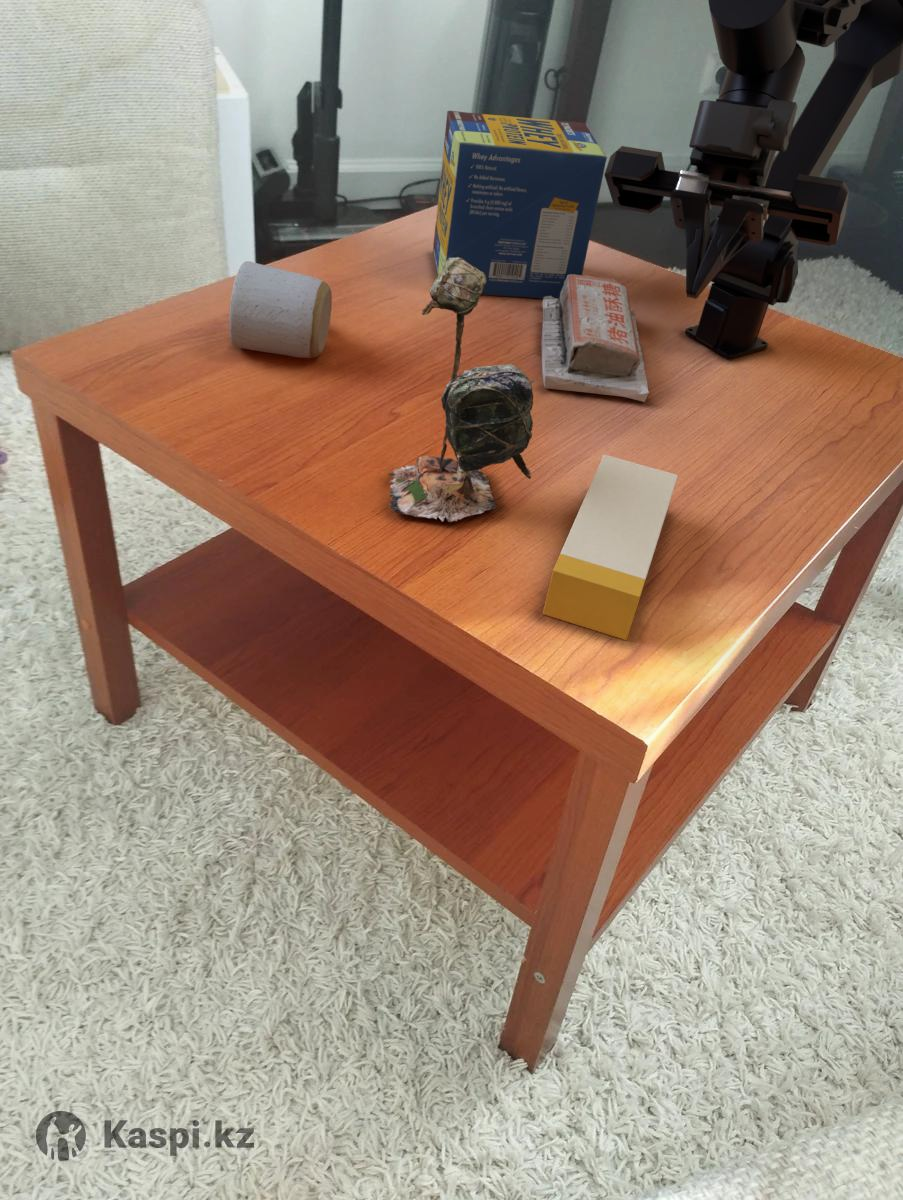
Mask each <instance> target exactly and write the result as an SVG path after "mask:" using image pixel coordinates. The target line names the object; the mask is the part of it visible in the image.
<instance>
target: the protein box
mask: <svg viewBox="0 0 903 1200" xmlns="http://www.w3.org/2000/svg"><path fill="white" fill-rule="evenodd" d="M607 159H608V156H607V155H606V154H605V151H603V149H602V147H601V146H600V144H599V143H598V142H597V140H596V138H595V137H594V135H593V134H592V132H591V131H590V129H589V127H588V126H587V124H586V123H585V122H580V121H567V120H554V119H542V118H534V117H533V118H531V117H521V116H520V117H519V116H511V115H500V114H486V113H477V112H476V113H475V112H467V111H457V110H447V112H446V122H445V131H444V140H443V152H442V161H441V170H440V181H439V189H438V190H439V191H438V197H437V198H438V200H437V208H436V217H435V227H434V236H433V247H432V255H433V259H434V264H435V270H436V274H437V277H438V276H439V275H440V274H441V272H442V270H443V267H444V265H445V262H446V261H447V259H448V258H450V257H453V258H455V257H459V258H462V259H463V260H465V261H466V262H467V263H469V264H470V265H471V266H473V267H476V268H477V269H478V270H480V271H481V272H483V273H484V274H485V276H486V284H485V287H484V290H483V291H482V293H481V294H480V295H483V296H495V297H496V296H497V297H498V296H499V297H511V298H513V297H516V298H526V299H527V298H528V299H542V300H543V297H546V296H552V297H553V298H557V299H558V298H559V297H560V293H561V290H562V287H563V286H564V281H565V280H566V278H567V275H570V274H575V275H583V273H584V268H585V263H586V258H587V254H588V249H589V245H590V239H591V235H592V230H593V225H594V220H595V215H596V211H597V206H598V201H599V197H600V192H601V187H602V183H603V178H604V174H605V169H606V164H607V163H606V162H607Z"/></svg>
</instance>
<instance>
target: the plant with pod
mask: <svg viewBox="0 0 903 1200" xmlns="http://www.w3.org/2000/svg"><path fill="white" fill-rule="evenodd" d="M485 284H486V276H485V274H484V273H483V272H481V271H480V270H478V269H477V268H476V267H473V266H471V265H470V264H469V263H467V262H466V261H465V260H463V259H462V258H459V257H455V258H453V257H450V258H448V259H447V261H446V262H445V265H444V267H443V270H442V272H441V274H440V275H439V276H438V275H437V277H436V278H435V279H434V281H433V283H432V285H431V286H430V289H429V295H430V298H431V300H430V301H429V302H427V303H426V306H425V307H424V308H423V309H422V311H421V314H422V315H423V316H427V315H429V314H430V313H431V311H432V310H433V309H440V310H447V311H451V312H453V313H454V314H456V323H455V324H456V328H455V331H456V333H455V349H454V350H455V351H454V352H455V353H454V361H453V367H452V373H451V375H450V376H451V377H450V381H448V383H447V384H446V385H445V388H444V391H443V393H442V394H443V395H442V396H441V398H440V399H441V404H442V406H441V407H442V409H443V411H444V413H445V419H444V423H445V428H444V437H443V442H442V449H441V453H440V456H435V455H421V456H418V457H417V458H416V462H415V463H414V464H413V465H407V464H405V467H403V466H401V467H400V468H394V469H393V470H392V472H389V473H387V476H389V477H390V478H392V479H391V480H390V481H388V484H389V483H392V484H391V485H390V486H389V487H390V488H391V490H388V491H387V492H388V493H389V494H390V496H389V497H391V498H390V501H388V503H389V504H390V505H388V506H387V507H388V508H389V509H391V510H393V511H394V513H398V514H403V515H407V516H413V517H414V518H427V519H435V520H437V519H438V518H439V520H440V521H441V522H444V521H445V519H446V520H447V522H448V523H454V522H457V521H459V520H462V519H464V518H467V517H471V516H474V515H482V514H484V513H485V511H491V510H492V511H493V510H497V509H498V504H497V503H496V502H495V500H494V496H493V495H492V494H493V492H492V491H491V488H490V487H491V486H490V485H489V482H490V480H489V479H487V478H488V476H486V475H485V474H484V473H483V471H482V470H483V469H484V468H486V467H489V466H492V465H497V464H498V465H499V464H504V463H505V462H507V461H509V460H511V459H512V460H513V462H514V463H515V465H516V466H517V468H518V469H520V471H521V473H523V475H524V476H525V477H526V478H527V479H528V480H530V479H532V471H531V470H530V468H529V467H528V466H527V464H526V461H525V460H524V459H523V456H522V453H524V451H525V450H526V449H527V448H528V446H529V443H530V440H532V438H533V432H532V431H533V427H534V425H533V424H534V421H533V415H532V413H531V411H532V410H533V405H534V393H533V386H532V384H534V383H535V382H536V381H537V379H535V380H531V381H530V379H529V377H528V376H527V375H526V374H525V372H524V371H523V370H522V369H520V368H519V367H517V366H516V365H513V364H511V363H508V364H507V363H505V364H494V365H483V366H474V367H473V368H471V369H466V370H463V372H462V373H461V374H459V375H458V372H459V370H460V369H459V368H460V364H461V356H462V347H461V345H462V342H463V341H462V338H463V334H464V327H465V316H468V315H470V314H471V313H472V312H473V310H474V309H475V308H476V307H477V306H478V304H479V301H480V297H481V295H482V294H481V293H482V291H483V290H484V287H485ZM447 442H448V443H449V445H450V447H451V448H452V450H453V454H454V456H455V458H456V460H454V459H453V458H450V457H445V455H446V451H447V448H448V447H447V446H448V445H447Z"/></svg>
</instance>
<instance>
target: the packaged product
mask: <svg viewBox="0 0 903 1200" xmlns="http://www.w3.org/2000/svg"><path fill="white" fill-rule="evenodd" d="M628 292H629V291H628V289H627V287H626V286H625V285H624V284H622V283H621V282H619V281H617V279H613V278H605V277H598V276H591V275H585V274H584V275H583V274H582V275H575V274H570V275H567V278H566V280H565V281H564V286H563V287H562V290H561V293H560V297H559V298H558V299H557V298H553V297H552V296H546V297H543V299H542V303H541V305H542V329H541V368H542V369H541V370H542V381H543V388H544V389H550V390H559V391H568V392H569V391H570V392H579V393H586V394H587V393H588V394H598V395H605V396H614V397H622V398H626V399H627V398H628V399H631V400H635V401H639V402H644V403H645V402H646V400H647V398H648V395H649V393H650V392H649V388H648V379H647V376H646V371H645V365H644V357H643V353H642V345H641V344H640V336H639V332H638V331H639V330H638V328H637V320H636V315H635V311H634V310H632V309H631V304H630V298H629V294H628Z"/></svg>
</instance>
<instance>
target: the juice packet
mask: <svg viewBox="0 0 903 1200" xmlns="http://www.w3.org/2000/svg"><path fill="white" fill-rule="evenodd" d="M678 478H679V475H678V474H676V473H672V472H668V471H665V470H662V469H658V468H654V467H650V466H647V465H643V464H640V463H637V462H633V461H629V460H626V459H623V458H618V457H615V456H612V455H608V454H603V455H602V457H601V460H600V461H599V464H598V467H597V469H596V471H595V473H594V476H593V478H592V480H591V482H590V485H589V487H588V489H587V492H586V494H585V495H584V499H583V501H582V502H581V506H580V507H579V510H578V512H577V514H576V517H575V518H574V521H573V524H572V526H571V528H570V530H569V532H568V535H567V537H566V539H565V542H564V544H563V547H562V549H561V551H560V554H559V556H558V558H557V560H556V562H555V565H554V567H553V569H552V572H551V577H550V581H549V585H548V589H547V592H546V593H547V594H546V598H545V602H544V606H543V610H542V615H544V616H547V617H550V618H554V619H557V620H561V621H562V622H563V621H564V622H567V623H569V624H573V625H576V626H579V627H583V628H586V629H589V630H592V631H596V632H599V633H602V634H605V635H608V636H611V637H615V638H618V639H620V640H624V641H627V640H628V637H629V635H630V631H631V627H632V624H633V622H634V618H635V615H636V611H637V609H638V605H639V602H640V599H641V596H642V593H643V591H644V588H645V587H644V586H645V583H646V580H647V577H648V574H649V570H650V567H651V564H652V561H653V557H654V554H655V552H656V548H657V545H658V542H659V538H660V535H661V532H662V529H663V525H664V523H665V519H666V516H667V513H668V509H669V507H670V504H671V501H672V500H671V499H672V497H673V494H674V490H675V488H676V483H677V481H678Z"/></svg>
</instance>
